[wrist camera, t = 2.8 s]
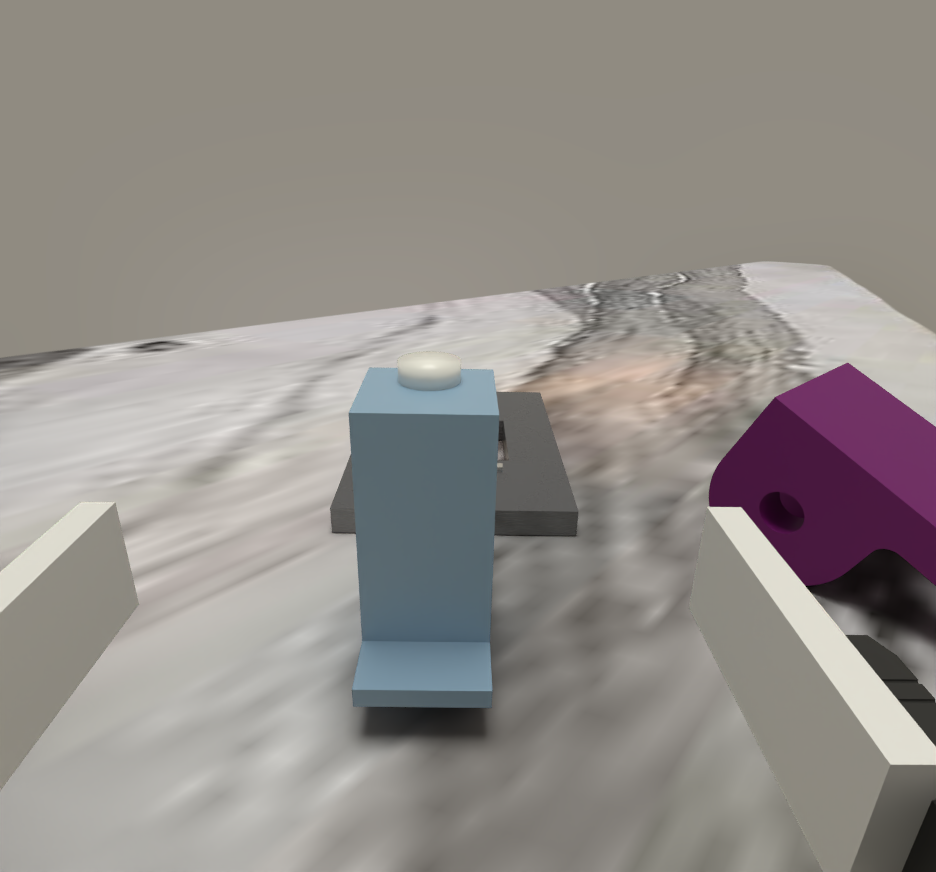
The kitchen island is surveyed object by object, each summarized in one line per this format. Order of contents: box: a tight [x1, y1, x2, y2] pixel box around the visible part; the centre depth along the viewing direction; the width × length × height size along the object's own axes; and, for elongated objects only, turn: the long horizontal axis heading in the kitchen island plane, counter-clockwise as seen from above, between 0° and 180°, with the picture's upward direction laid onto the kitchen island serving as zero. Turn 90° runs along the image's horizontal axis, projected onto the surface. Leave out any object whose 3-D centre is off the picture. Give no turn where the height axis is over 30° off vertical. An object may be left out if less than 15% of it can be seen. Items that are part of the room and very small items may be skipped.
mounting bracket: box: [709, 363, 936, 586], centre depth 33 cm, size 9×8×18 cm
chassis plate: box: [330, 392, 578, 536], centre depth 45 cm, size 20×14×2 cm
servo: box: [349, 352, 499, 708], centre depth 26 cm, size 10×5×13 cm, turn 0°
